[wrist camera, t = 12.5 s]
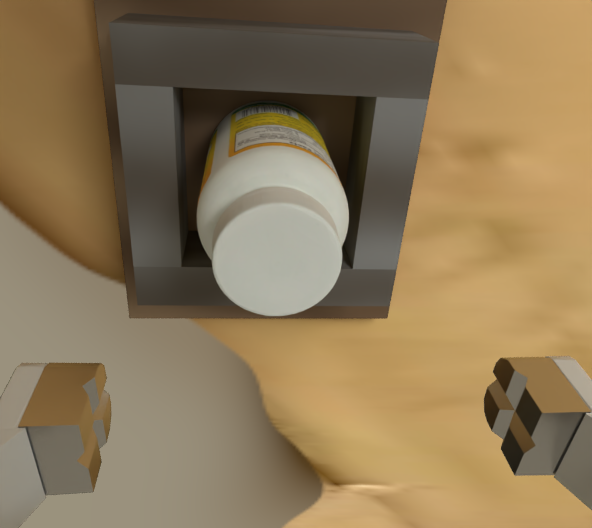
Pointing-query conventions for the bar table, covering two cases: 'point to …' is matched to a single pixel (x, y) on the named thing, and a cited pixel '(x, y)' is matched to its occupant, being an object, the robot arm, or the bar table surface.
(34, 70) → the bar table surface
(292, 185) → the supplement bottle
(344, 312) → the holder stand
